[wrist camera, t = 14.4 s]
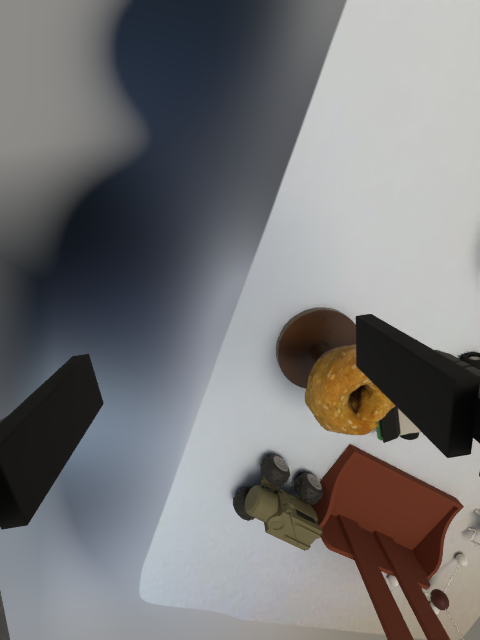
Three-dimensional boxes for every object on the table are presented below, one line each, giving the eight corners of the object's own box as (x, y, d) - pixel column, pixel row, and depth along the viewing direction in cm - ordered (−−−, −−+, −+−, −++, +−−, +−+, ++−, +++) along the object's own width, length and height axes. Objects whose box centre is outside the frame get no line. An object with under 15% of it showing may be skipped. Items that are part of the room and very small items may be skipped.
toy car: (488, 405, 49) (517, 424, 44) (371, 435, 49) (388, 458, 44) (488, 347, 46) (519, 361, 41) (363, 379, 46) (380, 397, 41)
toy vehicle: (282, 519, 53) (301, 600, 41) (229, 492, 50) (232, 570, 39) (320, 476, 51) (351, 548, 39) (266, 446, 48) (282, 514, 37)
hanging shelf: (456, 498, 54) (724, 800, 26) (409, 548, 57) (603, 871, 28) (350, 444, 49) (535, 745, 21) (304, 501, 52) (411, 838, 23)
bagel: (287, 414, 35) (297, 441, 31) (324, 326, 32) (341, 342, 28) (364, 433, 37) (384, 462, 32) (405, 351, 34) (434, 370, 29)
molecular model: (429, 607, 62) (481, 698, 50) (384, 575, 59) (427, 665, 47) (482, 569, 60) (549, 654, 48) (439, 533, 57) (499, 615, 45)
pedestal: (272, 313, 42) (289, 338, 33) (358, 302, 43) (399, 323, 33) (279, 390, 46) (296, 434, 36) (358, 379, 46) (395, 419, 36)
